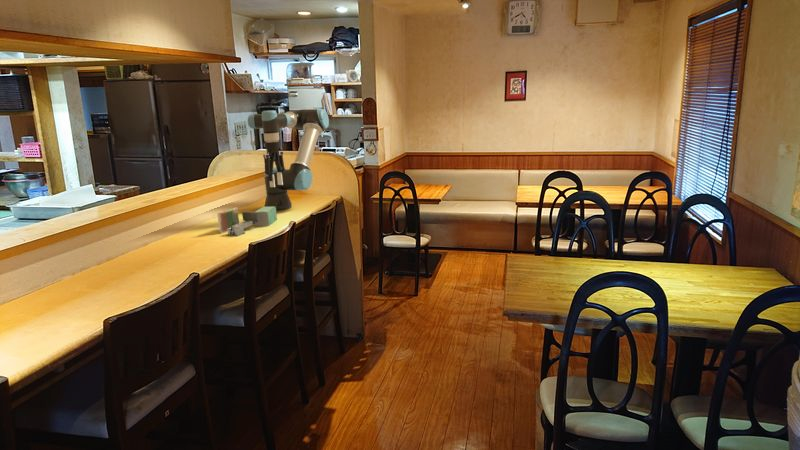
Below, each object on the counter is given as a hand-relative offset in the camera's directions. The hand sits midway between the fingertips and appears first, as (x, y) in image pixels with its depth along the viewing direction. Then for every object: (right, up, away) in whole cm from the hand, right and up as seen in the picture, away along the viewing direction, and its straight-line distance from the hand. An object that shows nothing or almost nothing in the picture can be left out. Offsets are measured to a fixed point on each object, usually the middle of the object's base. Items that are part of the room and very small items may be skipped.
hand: (276, 185), depth 276 cm
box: (-4, -20, -7) cm, 21 cm away
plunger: (-12, -22, -21) cm, 32 cm away
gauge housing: (-14, -24, -21) cm, 35 cm away
